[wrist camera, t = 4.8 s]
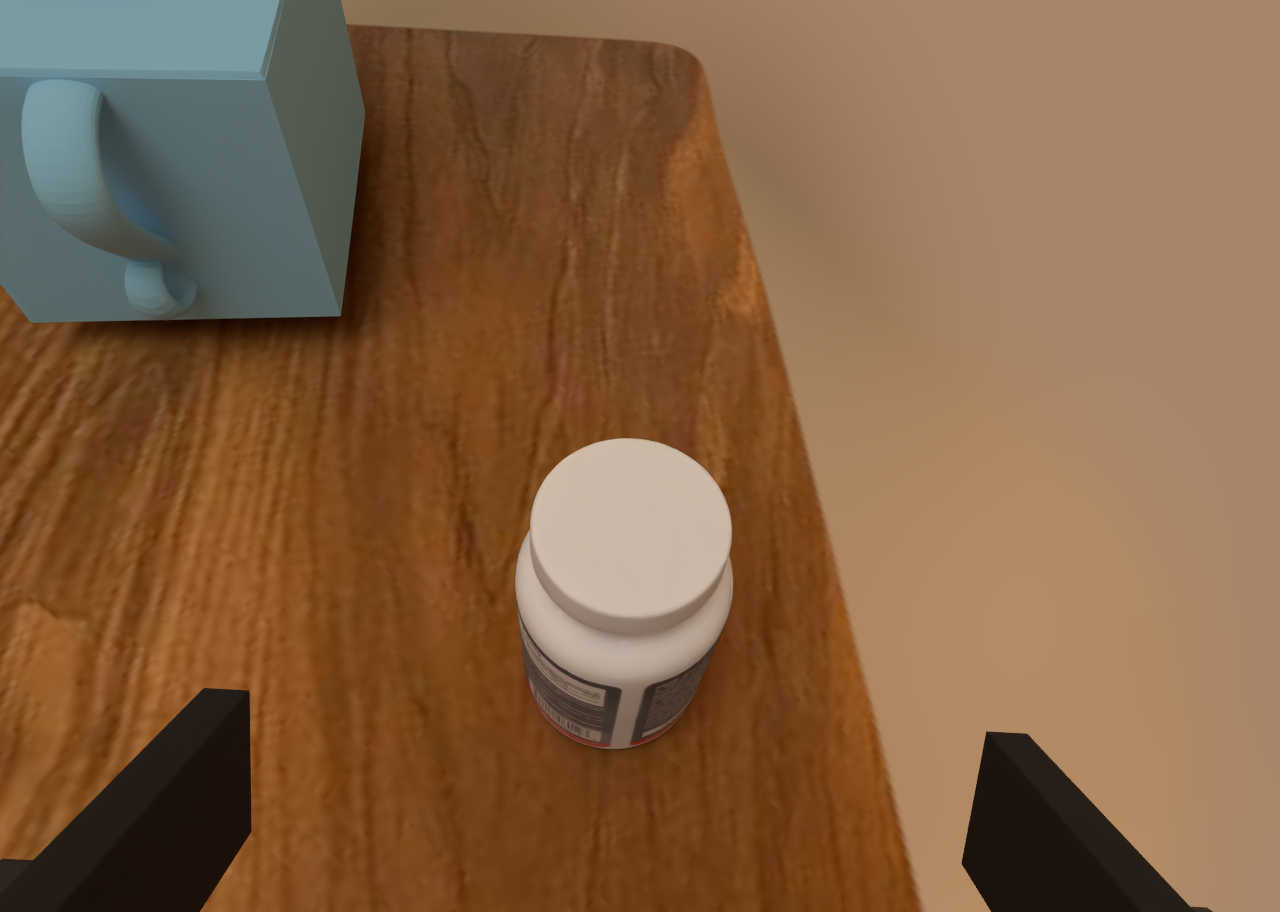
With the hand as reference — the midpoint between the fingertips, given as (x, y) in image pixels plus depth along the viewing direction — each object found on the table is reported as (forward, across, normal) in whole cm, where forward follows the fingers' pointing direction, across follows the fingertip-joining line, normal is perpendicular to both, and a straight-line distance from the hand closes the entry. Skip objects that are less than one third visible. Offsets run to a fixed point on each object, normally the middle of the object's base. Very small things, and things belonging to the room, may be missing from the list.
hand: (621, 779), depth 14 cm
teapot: (+26, -18, +10) cm, 33 cm away
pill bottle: (+12, 0, -4) cm, 13 cm away
